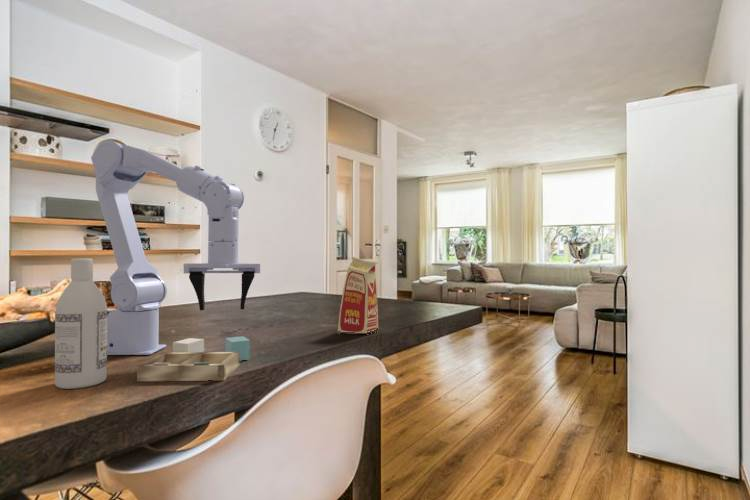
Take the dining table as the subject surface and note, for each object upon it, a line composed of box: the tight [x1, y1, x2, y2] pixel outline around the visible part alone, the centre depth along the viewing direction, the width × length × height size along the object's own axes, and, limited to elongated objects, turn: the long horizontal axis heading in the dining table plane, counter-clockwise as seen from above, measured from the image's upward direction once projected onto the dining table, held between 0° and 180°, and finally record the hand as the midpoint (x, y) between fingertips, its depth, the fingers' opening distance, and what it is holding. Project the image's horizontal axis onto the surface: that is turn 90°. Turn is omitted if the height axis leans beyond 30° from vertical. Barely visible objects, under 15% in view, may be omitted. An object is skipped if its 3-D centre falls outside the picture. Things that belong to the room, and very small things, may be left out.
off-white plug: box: [172, 337, 205, 352], centre depth 86 cm, size 6×4×4 cm, turn 163°
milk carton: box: [337, 256, 379, 333], centre depth 117 cm, size 9×9×20 cm
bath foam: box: [54, 257, 108, 390], centre depth 71 cm, size 7×7×20 cm
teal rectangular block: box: [225, 336, 251, 362], centre depth 87 cm, size 6×4×4 cm, turn 33°
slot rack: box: [136, 351, 240, 382], centre depth 77 cm, size 14×10×3 cm
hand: (222, 309), depth 89 cm, fingers open, 7 cm apart
